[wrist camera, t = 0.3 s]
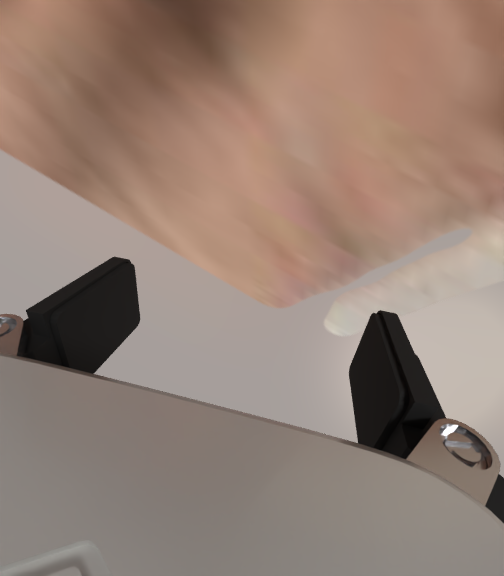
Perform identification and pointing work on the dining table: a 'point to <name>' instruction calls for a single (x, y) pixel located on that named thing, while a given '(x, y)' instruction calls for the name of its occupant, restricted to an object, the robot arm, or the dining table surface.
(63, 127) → the dining table surface
